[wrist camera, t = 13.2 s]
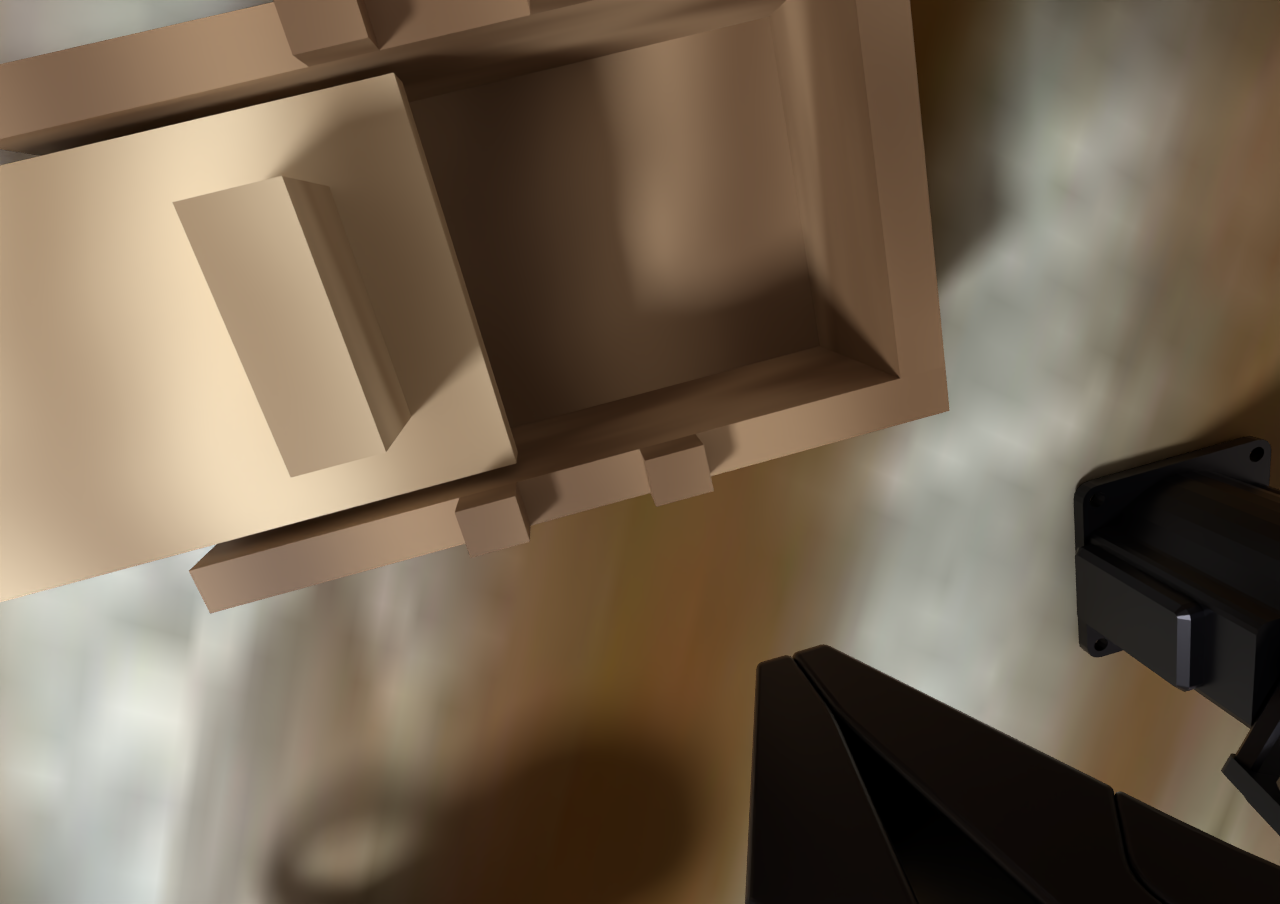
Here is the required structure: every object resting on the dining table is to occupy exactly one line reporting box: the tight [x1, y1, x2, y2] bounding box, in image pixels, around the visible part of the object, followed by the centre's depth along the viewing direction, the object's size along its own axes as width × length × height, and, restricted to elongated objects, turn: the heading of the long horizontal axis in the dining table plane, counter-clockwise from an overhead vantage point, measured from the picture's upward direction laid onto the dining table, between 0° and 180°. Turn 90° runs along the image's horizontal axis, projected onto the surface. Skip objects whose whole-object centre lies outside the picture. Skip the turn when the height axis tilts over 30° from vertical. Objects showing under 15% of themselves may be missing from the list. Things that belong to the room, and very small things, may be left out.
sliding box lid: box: [0, 73, 518, 602], centre depth 12 cm, size 14×7×3 cm, turn 103°
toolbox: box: [0, 0, 949, 613], centre depth 15 cm, size 16×10×6 cm, turn 103°
